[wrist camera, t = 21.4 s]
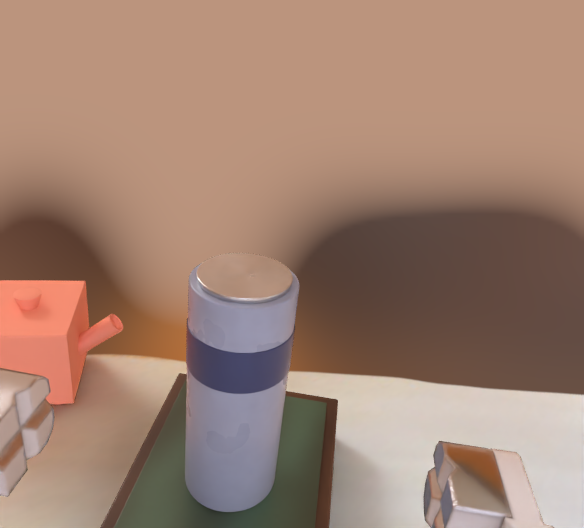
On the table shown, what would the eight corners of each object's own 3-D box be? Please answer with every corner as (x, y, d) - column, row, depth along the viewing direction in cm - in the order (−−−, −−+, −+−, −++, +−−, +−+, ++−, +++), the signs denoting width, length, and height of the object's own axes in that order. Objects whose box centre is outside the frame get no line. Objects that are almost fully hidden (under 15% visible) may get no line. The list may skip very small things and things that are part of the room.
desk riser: (331, 434, 40) (338, 396, 38) (310, 693, 25) (321, 649, 23) (178, 408, 41) (179, 369, 39) (68, 643, 26) (61, 597, 24)
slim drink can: (281, 447, 33) (306, 258, 27) (267, 521, 29) (294, 311, 23) (198, 433, 34) (205, 242, 28) (171, 503, 29) (171, 292, 23)
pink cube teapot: (120, 411, 40) (115, 320, 36) (-56, 419, 37) (-81, 322, 34) (129, 350, 47) (126, 268, 43) (-19, 353, 44) (-36, 266, 41)
